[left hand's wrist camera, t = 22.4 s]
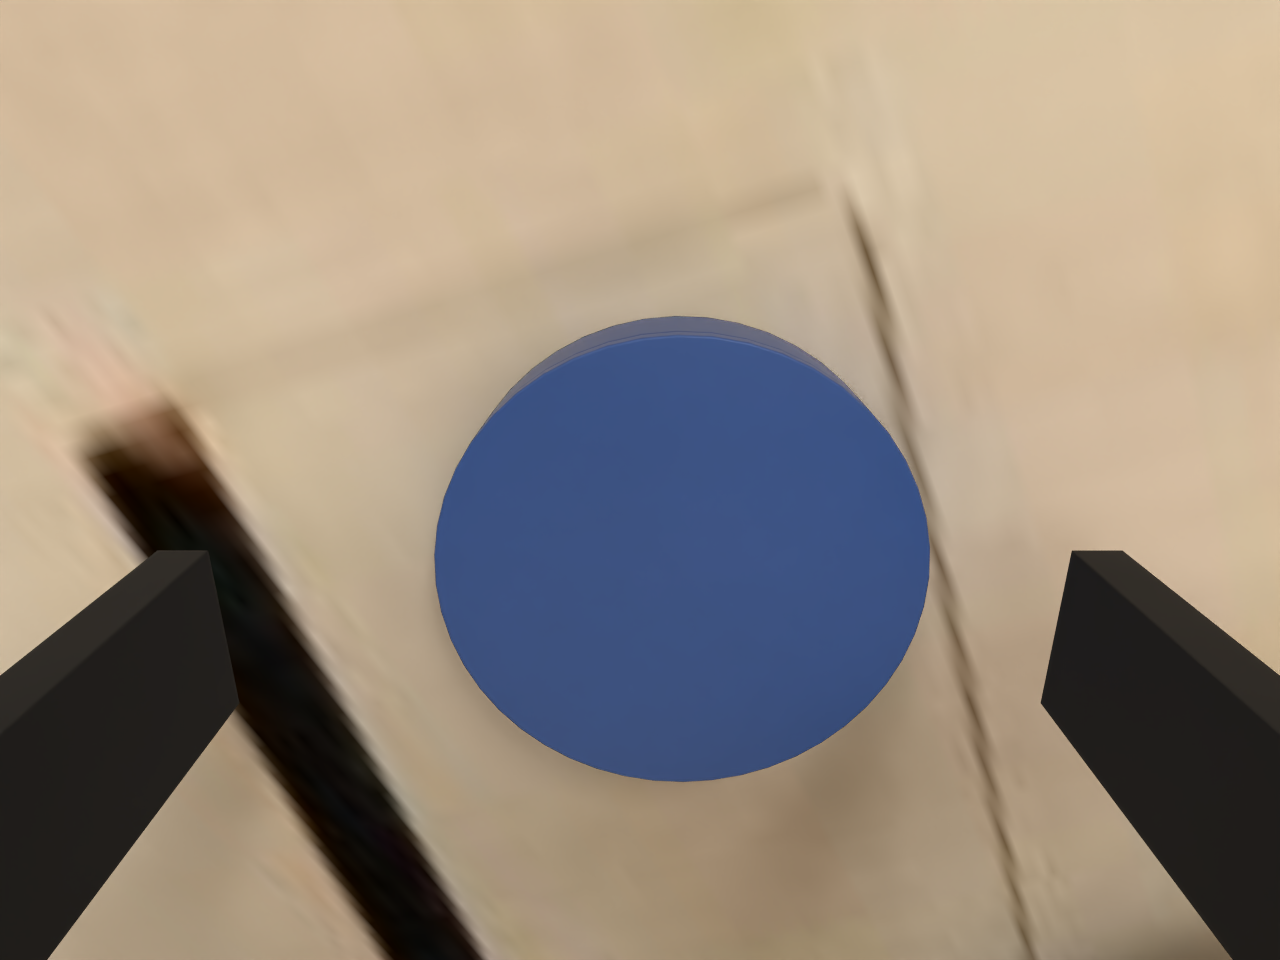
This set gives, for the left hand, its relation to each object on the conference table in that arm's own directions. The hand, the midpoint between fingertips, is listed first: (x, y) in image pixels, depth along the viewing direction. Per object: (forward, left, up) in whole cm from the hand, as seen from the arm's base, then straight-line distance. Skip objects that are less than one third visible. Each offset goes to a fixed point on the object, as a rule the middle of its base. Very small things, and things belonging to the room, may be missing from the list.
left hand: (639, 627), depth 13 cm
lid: (+1, 0, -3) cm, 3 cm away
